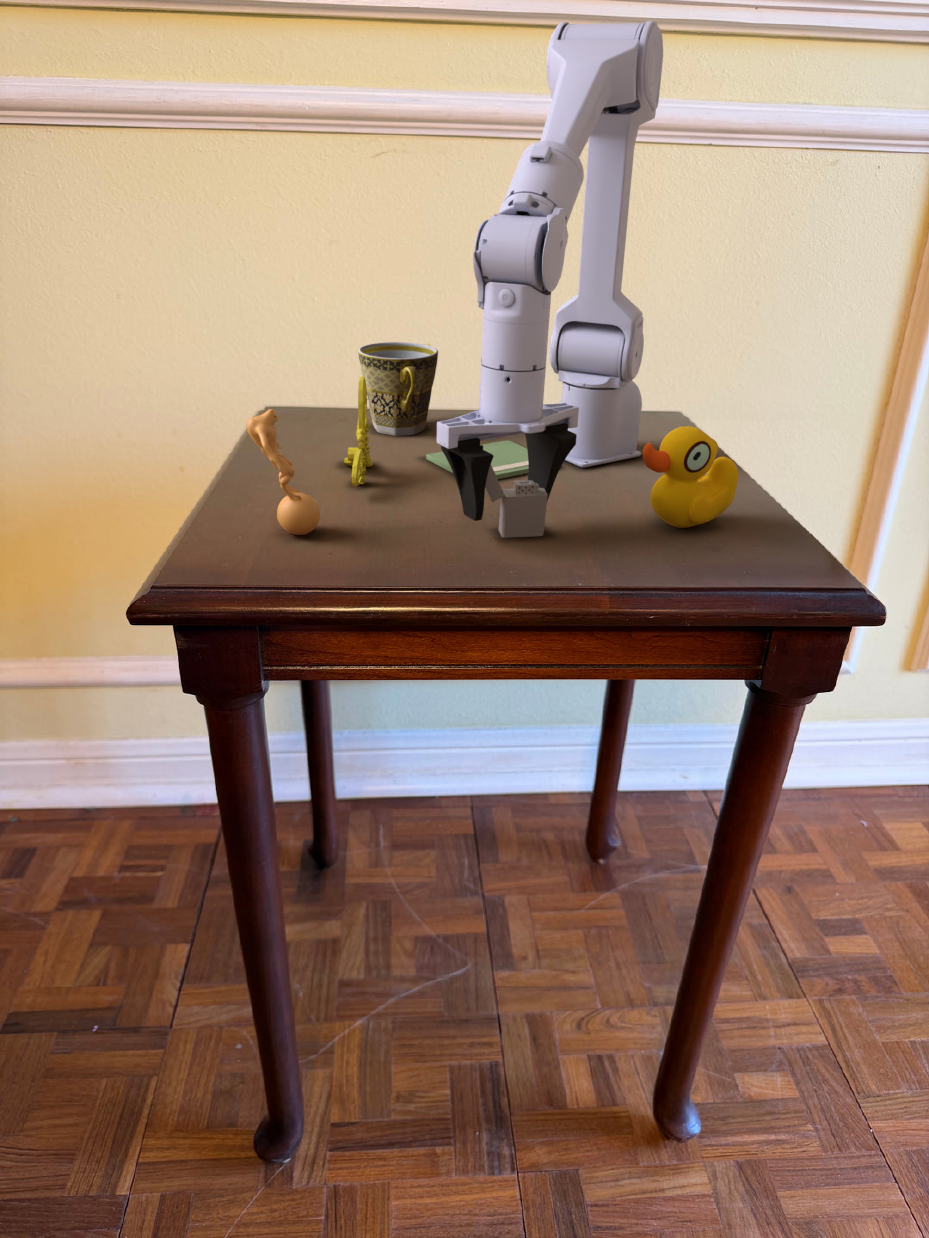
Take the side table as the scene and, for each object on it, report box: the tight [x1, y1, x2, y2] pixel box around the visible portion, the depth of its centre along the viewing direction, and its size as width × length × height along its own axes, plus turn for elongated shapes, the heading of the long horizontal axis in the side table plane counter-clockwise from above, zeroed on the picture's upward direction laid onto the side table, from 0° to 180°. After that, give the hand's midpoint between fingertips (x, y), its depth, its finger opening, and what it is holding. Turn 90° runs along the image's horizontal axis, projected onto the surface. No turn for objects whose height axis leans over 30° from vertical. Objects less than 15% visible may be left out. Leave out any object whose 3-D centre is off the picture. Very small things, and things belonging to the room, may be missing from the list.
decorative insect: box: [343, 376, 374, 487], centre depth 97 cm, size 13×3×10 cm
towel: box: [425, 439, 529, 480], centre depth 103 cm, size 12×10×1 cm
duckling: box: [642, 425, 739, 529], centre depth 86 cm, size 11×5×10 cm, turn 115°
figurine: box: [245, 408, 321, 536], centre depth 80 cm, size 8×6×12 cm
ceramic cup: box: [357, 341, 439, 437], centre depth 111 cm, size 13×10×10 cm
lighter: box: [485, 465, 548, 539], centre depth 83 cm, size 7×2×8 cm, turn 101°
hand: (505, 509), depth 84 cm, fingers closed on lighter, 7 cm apart
